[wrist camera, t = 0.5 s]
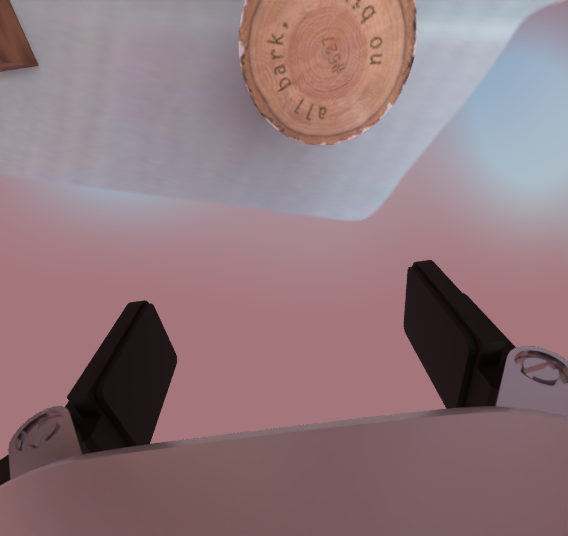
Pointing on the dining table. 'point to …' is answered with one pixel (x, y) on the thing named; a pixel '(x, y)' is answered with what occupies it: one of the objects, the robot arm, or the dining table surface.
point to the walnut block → (13, 41)
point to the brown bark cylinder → (326, 63)
